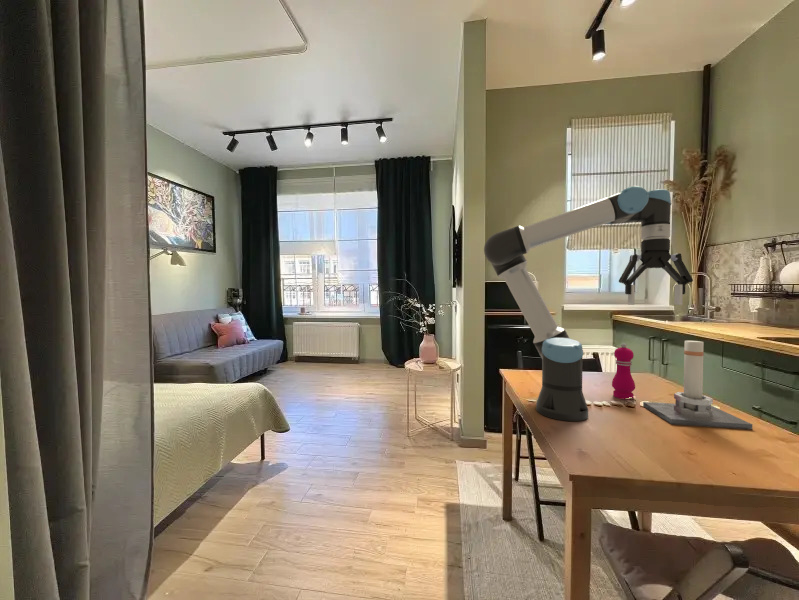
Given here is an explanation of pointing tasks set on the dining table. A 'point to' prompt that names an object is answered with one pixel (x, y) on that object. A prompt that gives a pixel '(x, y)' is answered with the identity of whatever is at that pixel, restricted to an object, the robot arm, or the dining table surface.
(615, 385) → the pepper mill
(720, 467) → the dining table surface
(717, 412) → the tube holder base
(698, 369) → the cream ringed tube
